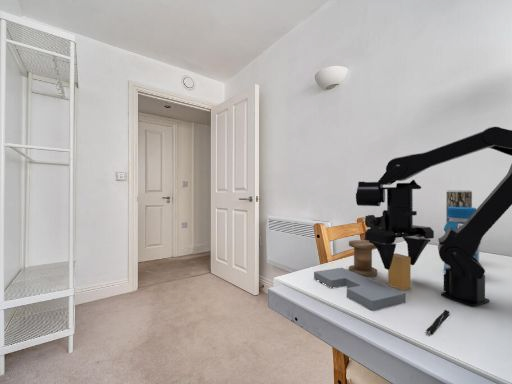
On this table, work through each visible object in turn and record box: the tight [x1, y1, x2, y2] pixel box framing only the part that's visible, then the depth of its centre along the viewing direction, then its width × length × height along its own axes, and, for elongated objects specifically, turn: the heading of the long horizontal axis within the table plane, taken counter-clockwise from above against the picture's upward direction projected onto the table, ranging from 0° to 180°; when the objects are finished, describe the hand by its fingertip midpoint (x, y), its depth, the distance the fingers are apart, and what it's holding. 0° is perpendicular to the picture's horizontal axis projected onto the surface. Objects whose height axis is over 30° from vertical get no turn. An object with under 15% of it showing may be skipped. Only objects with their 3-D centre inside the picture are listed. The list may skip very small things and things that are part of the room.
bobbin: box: [348, 239, 378, 278], centre depth 75 cm, size 8×8×9 cm
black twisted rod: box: [424, 309, 450, 337], centre depth 46 cm, size 12×1×1 cm, turn 130°
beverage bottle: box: [443, 206, 482, 274], centre depth 73 cm, size 8×8×20 cm
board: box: [313, 267, 407, 312], centre depth 62 cm, size 20×10×2 cm, turn 23°
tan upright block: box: [387, 252, 412, 291], centre depth 64 cm, size 4×3×8 cm
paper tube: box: [445, 190, 473, 223], centre depth 85 cm, size 7×7×25 cm
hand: (399, 266), depth 64 cm, fingers open, 9 cm apart
